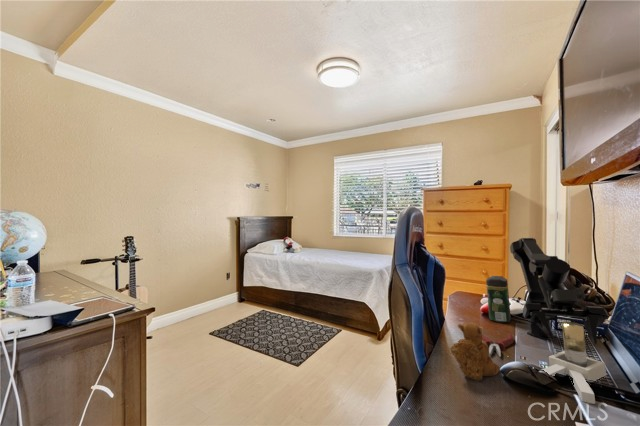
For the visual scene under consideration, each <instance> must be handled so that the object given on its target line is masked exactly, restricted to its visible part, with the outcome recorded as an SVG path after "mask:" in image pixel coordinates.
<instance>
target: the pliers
mask: <svg viewBox="0 0 640 426" xmlns="http://www.w3.org/2000/svg"><path fill="white" fill-rule="evenodd" d="M482 341H485V342H486V344H487V345H488V349H489V356H492V355H493V353H494V351H495V352H496V354H497V355H498V357H500V358H501V357H502V351H506V348H507V347H509V346H511V345H513V344H514V341H515V340H514V338H513V334H511V333H509V332H508V333H507V337H506V338H503V339H500V340H498V341H495V342H494V341H493V340H491V339H490V338H488V337H486V335H484V334H482Z"/></svg>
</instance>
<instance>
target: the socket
mask: <svg viewBox="0 0 640 426" xmlns="http://www.w3.org/2000/svg"><path fill="white" fill-rule="evenodd" d="M548 364H549V365H548V366H547V367H545V368H542V369H541V370H544V371H545V372H547V373H548V374H549V375H552V376H555V374H556V373H559V374H564V373H567V374H570V376H571V377H572V378H573V383H574V385H573V388H574V389H575V390H576V392H577V394H578V396H579V398H580V399H581V402H582V403H587V404H592V405H596V398H595V393H594V391H593V389H592V388H591V387H590V385H589V384H588V383H587V382H586V380H585V379H587V380H596V379H598V378H601V377H603V376H605V375H606V376H607V370H606V363H605V362H604V361H600V360H597V359H594V358H591V357H587V366H588V367H586V368H584V367H581V366H578V365H575V364H573V363H570V362H567V361H565V351H564V350H562V351H560V352H558V353H555V354H552V355H549V356H548ZM573 383H572V384H573Z"/></svg>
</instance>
